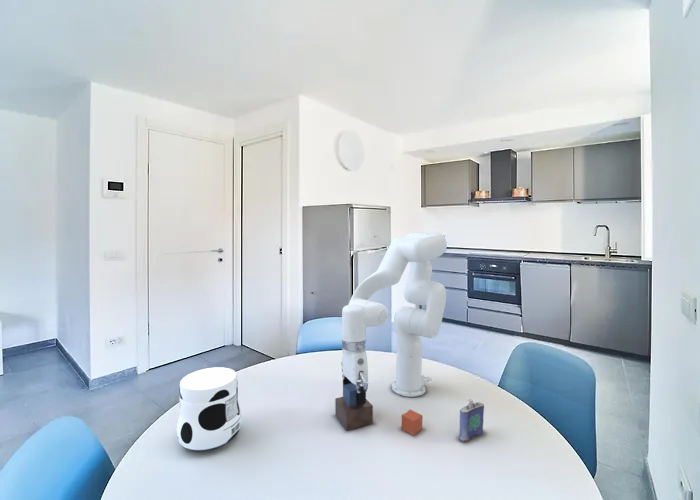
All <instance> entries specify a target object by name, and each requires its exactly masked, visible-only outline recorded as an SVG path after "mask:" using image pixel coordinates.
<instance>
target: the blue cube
mask: <svg viewBox="0 0 700 500" xmlns="http://www.w3.org/2000/svg"><path fill="white" fill-rule="evenodd" d="M361 386H362V385H361V384H359V388H360V387H361ZM356 392H357V390H356V386H355V384H353V383H350V384H345V385H343V384H342V397H343V401H344V402H345V403H346V404H347V405H348V406H349V407H353V406H357V405H356Z"/></svg>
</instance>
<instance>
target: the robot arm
mask: <svg viewBox="0 0 700 500" xmlns="http://www.w3.org/2000/svg"><path fill="white" fill-rule="evenodd" d="M447 247H448V243H447V239H446V237H445V236H444V234H442V233H439V232H410V233H408V234H405V236H404V237H397V238H394V239H393V240H392V241H391V242H390V244H389V246H388V248H387V250H386V251H385V253H384V256H383V258H382V260H381V262H380V264H379V265H378V267H377V270H376V271H375V272H373V273H371V274H370V275H369V276H367V277H366V278H365V279H364V280H362V281H361V282H360V283H359V285H357V287H356V288H355V289H354V292H353V294H352V295H351V298H350V299H349V301H348V304H346V305H344V306H343V307H342V310H341V350H342V360H341V372H342V375H341V376H342V386H343V385H345V384H350V383H353V384H355V386H356V390H357V392H356V405H357V406H358V405H362V404H365V403H366V399H367V392H368V387H369V370H368V369H369V366H368V356H367V352H366V350H367V328H368V327H369V328H370V327H379V326H382V325H384V324H385V323H386V322H387V321H388V318H389V310H388V307H387V306H386V305H384V304H383V303H381V302H377V301H373V300H370V298H371V297H372V296H373V295H374V294H375V293H377V292H379V291H381V290H383V289H386V288H390V287H393V286H395V285H397V284H399V282H400V281H401V279H402V276H403V274H404V272H405V270H406V267H407V265H408V264H409V271H408V275H407V279H406V283H405V288H404V292H403V293H404V294H403V296H404V299H405V301H406V302H407V303H410V304H413V305H418V306H422V307H426V308H425V309H422V308H418V307H414V306H413V307H412V306H401V307H399V308H398V309H397V310H396V311H395V312H394V315H393V324H394V330H395V334H396V335H395V336H396V337H395V338H396V349H395V351H396V353H395V356H396V358H395V359H396V361H395V362H396V364H395V381H393V382H392V384H391V388H392V391H393V392H394V393H396V394H397V395H399V396H402V397H408V398H410V397H411V398H414V397H415V398H416V397H420V396H422V395H424V394H425V392H426V386H425V384H426V383H430V382H432V380H433V378H432V376H430V375H428V376H425V374H422V372H423V371H422V365H423V363H422V362H423V343H422V339H421V338H422V337H423V338H427V339H433V338H436V337H437V336H438V335H439V333H440V331H441V326H442V323H443V318H444V313H445V309H446V303H447V289H446V286H445V285H444V284H442V283H441V282H438V281H433V280H431V279H432V275H433V274H432V273H433V266H432V263H431V261H432V260H434V259H437V258H439V257H441V256H442V255H443V254H444V253H445V252H446V250H447ZM359 385H360V386H361V387H360V388H359Z"/></svg>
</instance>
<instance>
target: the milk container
mask: <svg viewBox="0 0 700 500" xmlns="http://www.w3.org/2000/svg"><path fill="white" fill-rule="evenodd" d="M238 383H239V381H238V375H237V372H236V371H235V370H234V369H232V368H229V367H228V368H227V367H223V366H222V367H221V366H216V367H215V366H214V367H207V368H206V367H205V368H202V369H199V370H195V371H192V372H189V373H188V374H186V375H185V376H184V377H182V379H180V382H179V389H178V391H179V398H178V399H179V415H178V419H177V423H176V435H177V440H178V443H179V444H180V445H181V446H182V447H183V448H184V449H186V450H189V451H192V452H206V451H212V450H216V449H218V448H221V447H223V446H225V445H226V444H228V443H229V442H230V441H231V442H232V440H234V439H235V438H236V436H237V435H238V433H239V431H240V430H241V425H242V411H241V407H240V404H239V398H238V397H239V386H238V385H239V384H238Z"/></svg>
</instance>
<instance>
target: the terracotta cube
mask: <svg viewBox="0 0 700 500" xmlns="http://www.w3.org/2000/svg"><path fill="white" fill-rule="evenodd" d="M401 430H402V431H404V432H405V433H408V434H409V435H412V436H415V435H417V434H418V433H419V432H421V431H422V430H423V414H421V413H418V412H417V411H414V410H413V409H408V410H407V411H406V412H404V413H403V414H401Z"/></svg>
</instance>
